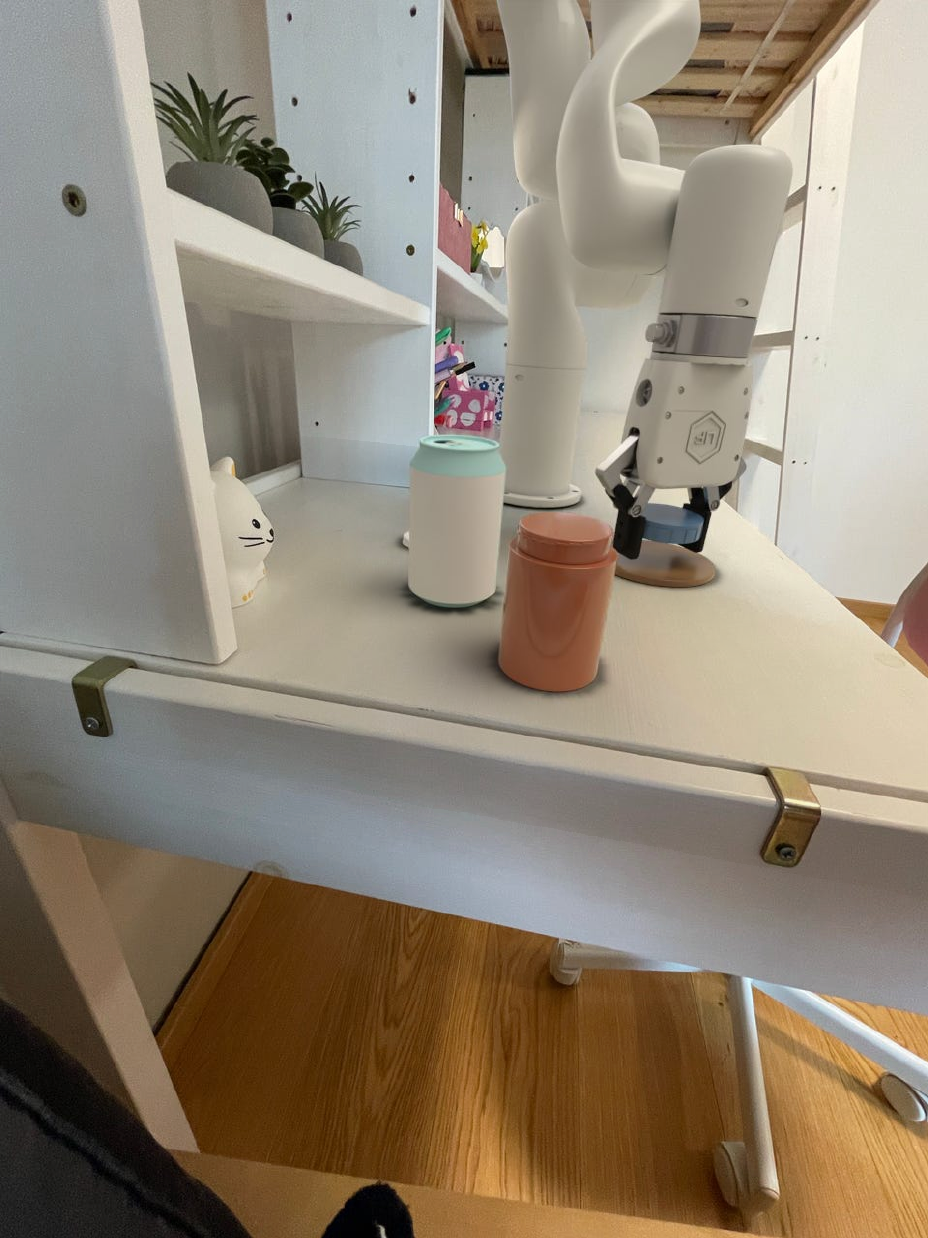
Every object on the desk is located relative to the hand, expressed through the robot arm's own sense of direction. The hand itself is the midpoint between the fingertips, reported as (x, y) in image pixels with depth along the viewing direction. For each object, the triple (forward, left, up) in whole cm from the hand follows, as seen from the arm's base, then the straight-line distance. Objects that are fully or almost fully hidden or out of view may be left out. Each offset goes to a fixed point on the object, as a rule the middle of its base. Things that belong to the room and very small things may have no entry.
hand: (657, 549), depth 55 cm
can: (+3, -21, -2) cm, 21 cm away
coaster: (0, 0, -1) cm, 1 cm away
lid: (0, 0, +3) cm, 3 cm away
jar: (+15, -18, -1) cm, 23 cm away
